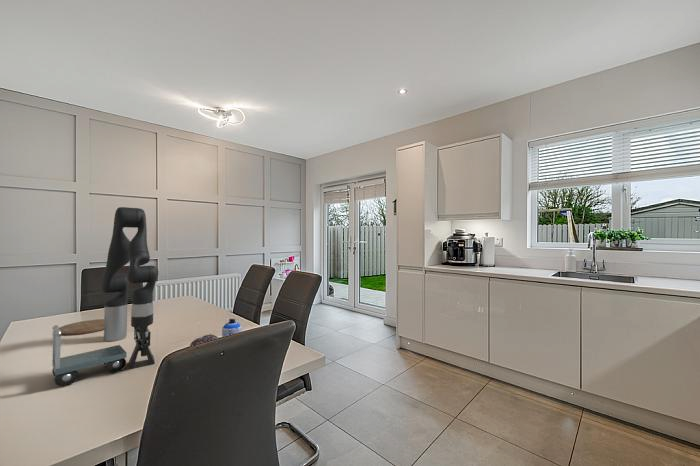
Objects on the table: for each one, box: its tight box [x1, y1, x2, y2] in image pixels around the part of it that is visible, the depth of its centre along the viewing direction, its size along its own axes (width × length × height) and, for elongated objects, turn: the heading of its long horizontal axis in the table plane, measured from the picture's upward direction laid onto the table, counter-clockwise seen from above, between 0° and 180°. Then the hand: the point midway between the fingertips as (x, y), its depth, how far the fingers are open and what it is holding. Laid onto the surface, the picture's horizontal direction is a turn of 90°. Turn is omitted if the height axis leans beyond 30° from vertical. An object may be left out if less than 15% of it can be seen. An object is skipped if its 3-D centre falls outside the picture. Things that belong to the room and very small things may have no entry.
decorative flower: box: [189, 334, 219, 346], centre depth 123 cm, size 15×12×15 cm
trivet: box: [59, 318, 104, 337], centre depth 166 cm, size 25×25×2 cm
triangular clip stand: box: [127, 337, 156, 371], centre depth 121 cm, size 9×6×12 cm, turn 127°
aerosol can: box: [221, 318, 243, 338], centre depth 119 cm, size 8×8×20 cm
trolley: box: [51, 324, 127, 388], centre depth 112 cm, size 12×20×20 cm, turn 139°
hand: (141, 353), depth 121 cm, fingers open, 6 cm apart
